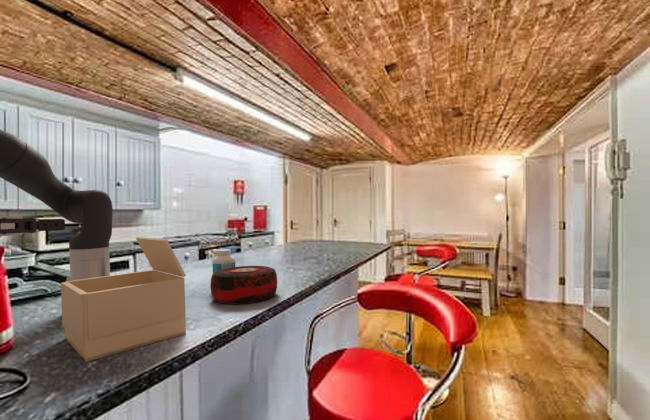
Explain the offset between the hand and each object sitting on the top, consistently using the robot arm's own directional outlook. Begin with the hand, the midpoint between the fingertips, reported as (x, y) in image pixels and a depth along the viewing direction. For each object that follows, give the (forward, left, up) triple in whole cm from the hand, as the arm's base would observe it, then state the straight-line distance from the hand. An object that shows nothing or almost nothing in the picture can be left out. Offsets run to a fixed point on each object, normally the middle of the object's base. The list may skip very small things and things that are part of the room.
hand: (63, 224), depth 66 cm
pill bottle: (+12, +51, -25) cm, 58 cm away
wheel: (+22, +41, -25) cm, 53 cm away
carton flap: (+11, +13, -8) cm, 19 cm away
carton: (+6, +8, -24) cm, 26 cm away
